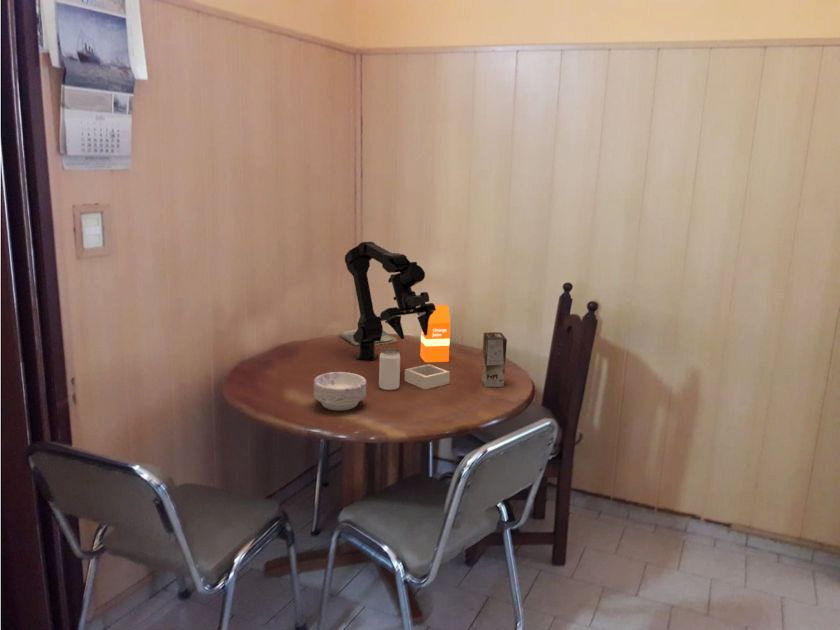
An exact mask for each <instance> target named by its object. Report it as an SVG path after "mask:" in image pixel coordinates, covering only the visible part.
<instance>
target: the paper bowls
mask: <svg viewBox="0 0 840 630" xmlns="http://www.w3.org/2000/svg"><path fill="white" fill-rule="evenodd" d="M366 396H367V379H366V378H365V377H364V376H362V375H360V374H356V373H353V372H349V371H348V372H345V371H332V372H326V373H322V374H320V375H317V376H316V377H315V378H314V379H313V397H314V399H315V400H317V401H318V402H320V403H321V406H323V407H324V408H325V409H328V410H331V411H339V412H342V411H348V410H352V409H354V408H356V407H357V406H358V404H359V403H360V402H361V401H363V400H364V399H365V398H366Z"/></svg>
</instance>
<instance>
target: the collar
mask: <svg viewBox="0 0 840 630" xmlns="http://www.w3.org/2000/svg"><path fill="white" fill-rule="evenodd" d="M450 376H451V372H450V371H449V370H446V369H443V368H441V367H438V366H436V365H433V364H429V363H427V364H423V365H418V366H417V365H416V366H413V367H410V368H405V369H404V382H407V383H408V384H411V385H414V386H416V387H418V388H420V389H423V390H429V389H433V388H437V387H441V386H444V385H449V384H450V382H451V381H450V378H451V377H450Z"/></svg>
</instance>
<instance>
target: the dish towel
mask: <svg viewBox="0 0 840 630" xmlns="http://www.w3.org/2000/svg"><path fill="white" fill-rule="evenodd" d="M356 331H357V329H354V330H347V331H342V332H339V334H338V336H339V337H340V338H341V337H342V338H341V339H342V340H344V339H345V340H344V341H346V342H347V341H348V342H347V343H349V342H350V343H351V344H350V343H349V344H350V345H352V344H353V345H352V346H354V347H356V348H359V347H358V346H359V343H357V342H355V341H354V338H353V335H354V334H355V332H356ZM389 343H392V344H397V343H398V340H397V338H396V337H394V336H392V335H391V334H390V333H388V332H386V330H384V329H383V332H382V336H381V340H380V341H375V346H380V344H382V345H390V344H389Z"/></svg>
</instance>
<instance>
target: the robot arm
mask: <svg viewBox="0 0 840 630" xmlns="http://www.w3.org/2000/svg"><path fill="white" fill-rule="evenodd" d="M373 259H374V260H375V261H377V262H378V263H379V264H381V267H382V268H383V270H385V271H386V272H387V273H388V274H390V277H389V278H388V280H387V281H388V283H391V284H392V288H393V291H394V292H393V293H394V296H393V300H394V301H395V302H396V304H397V305H396V307H389V308H386V309H384V310H382V311H381V312H380V316H379V315H378V316H377V314H376V313H375V311H374V306H373V301H372V295H371V290H370V289H371V288H370V284H369V279H368V271H369V268H370V266H371V265H370V264H371V263H370V262H371V260H373ZM344 262H345V265H346V269H347V271H348V272H349V274H351V275H352V277H353V282H354V287H355V293H356V300H357V304H358V310H359V314H360V315H359V319H358V321H357V329H356V330H357V331H356V332H355V334H354V335H353V338H354V341H355V342H357V343H359V347H358V355H356V358H355V359H356V360H363V361H374V360H375V359H376V358H377V357H378V354H376V351H375V350H376V345H375V341H380V340H381V336H382V332H383V330H384V328H383V323H382V322H383V321H384V322H385V324H388V325H389V327H391V328H392V329H393V330H394V332H395V333H396V335H398V337H399V338H400V339H401V340H404V339H405V336H404V335H405V334H404V330H403V326H402V322H401V320H402V316H405V315H414V314H416V315H418V316H417V320H418V323H419V326H420V329H421V328H422V331H423V333H424V335H425V336H426V335H427V332H428V322H429V318H430V316H431V314H433V312H434V311H436V308H435V304H434V303H433V302H430V296H429V293H428V291H424V292H423V291H422V292H420V294H417V295H416V291H415V290H414V291H413V290H412V287H413V286H416V285H417V284H420V283H422V281H424V279H425V277H426V273H425V270H424V269H423V268H422V267H421V266H420V265H418V262H417V261H410V260H409V259H408V256H406V255H405V254H402V253H398V252H397V253H396V252H391V251H389V250H387V249H385V248H383V247H381V246H379V245H378V244H376V243H375V242H373V241H362V242H360V243H359V244H358V245H356V246H355V247H353V248H351V249H350V250H348V251H347V253H346V254H345V256H344ZM392 273H394V274H392ZM429 302H430V303H429Z"/></svg>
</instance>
